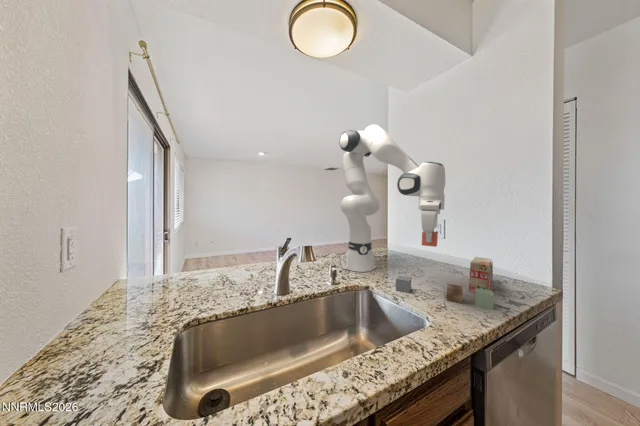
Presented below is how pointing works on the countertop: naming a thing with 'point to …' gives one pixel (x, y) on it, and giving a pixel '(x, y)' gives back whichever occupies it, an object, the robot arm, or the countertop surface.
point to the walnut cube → (454, 293)
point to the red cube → (434, 239)
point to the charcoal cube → (403, 284)
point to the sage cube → (484, 298)
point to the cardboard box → (480, 274)
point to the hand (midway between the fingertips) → (429, 240)
